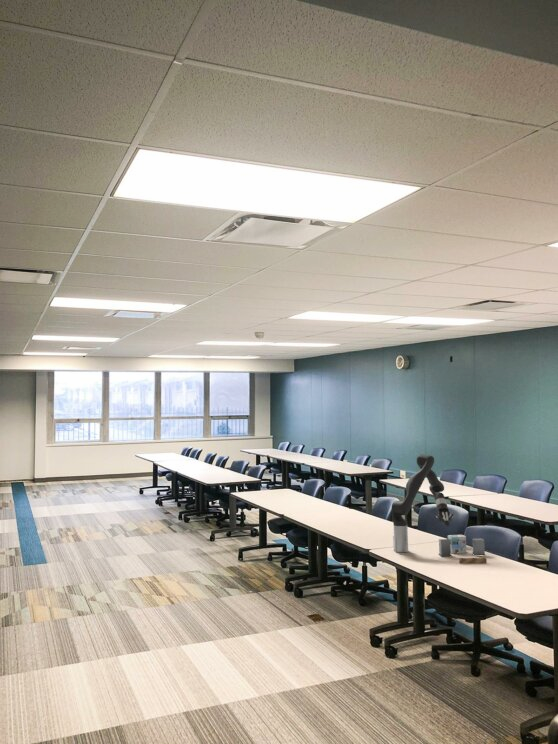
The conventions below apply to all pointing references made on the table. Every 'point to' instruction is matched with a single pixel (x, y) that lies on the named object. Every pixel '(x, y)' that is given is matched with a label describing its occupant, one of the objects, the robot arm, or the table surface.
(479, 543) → the block
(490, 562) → the table surface
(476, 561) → the walnut stop
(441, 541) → the block
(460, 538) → the light bulb box
